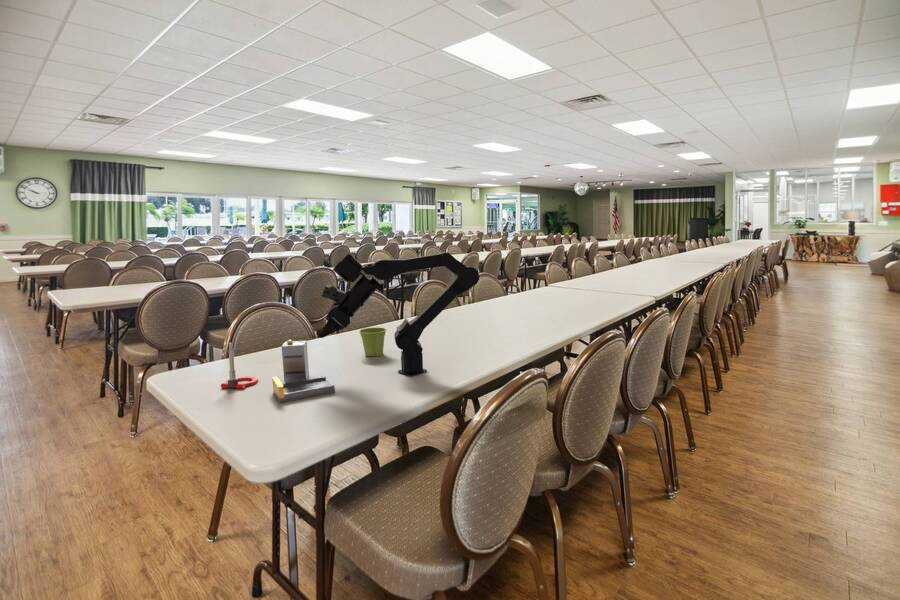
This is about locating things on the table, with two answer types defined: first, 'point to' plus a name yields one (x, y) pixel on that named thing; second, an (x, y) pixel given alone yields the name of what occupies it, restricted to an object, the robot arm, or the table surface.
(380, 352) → the plant pot
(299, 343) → the grey grooved upright block
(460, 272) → the robot arm
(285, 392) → the grey channel rail
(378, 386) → the table surface
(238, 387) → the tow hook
